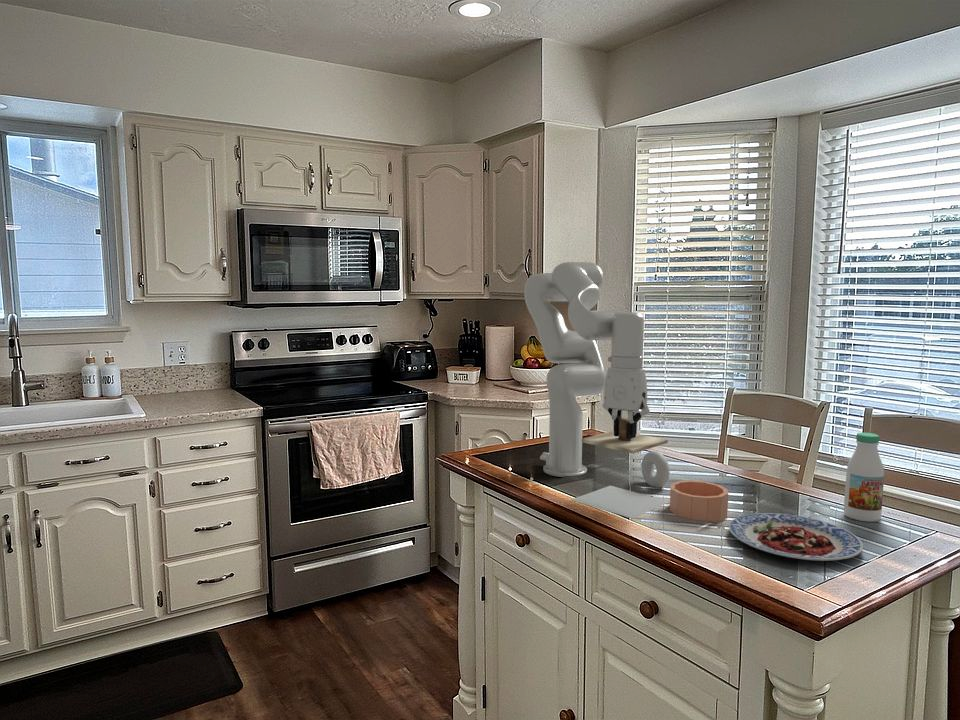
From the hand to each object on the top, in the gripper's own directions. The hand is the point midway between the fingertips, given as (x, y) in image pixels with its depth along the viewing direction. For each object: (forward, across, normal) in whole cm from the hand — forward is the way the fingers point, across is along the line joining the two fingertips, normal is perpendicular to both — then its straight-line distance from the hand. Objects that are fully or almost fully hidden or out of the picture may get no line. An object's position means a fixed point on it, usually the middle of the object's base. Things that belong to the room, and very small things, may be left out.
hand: (624, 436), depth 164 cm
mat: (+17, -1, 0) cm, 17 cm away
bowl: (+17, +16, +7) cm, 25 cm away
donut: (+17, -2, +17) cm, 25 cm away
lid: (+2, 0, 0) cm, 2 cm away
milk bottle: (+18, +44, +34) cm, 58 cm away
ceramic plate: (+18, +39, +6) cm, 44 cm away
